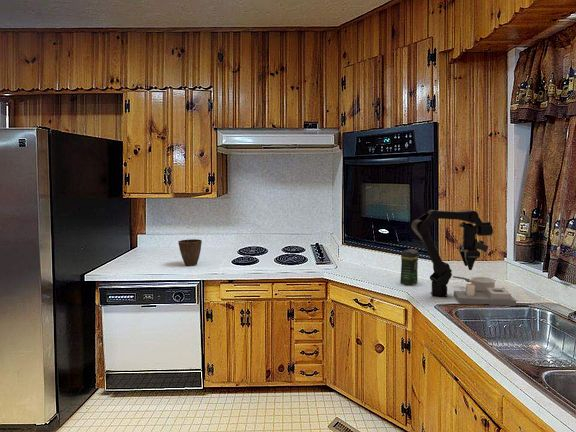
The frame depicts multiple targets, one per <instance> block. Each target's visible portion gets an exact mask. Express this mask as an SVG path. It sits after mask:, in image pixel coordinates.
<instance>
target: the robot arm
mask: <svg viewBox="0 0 576 432" xmlns="http://www.w3.org/2000/svg"><path fill="white" fill-rule="evenodd" d="M437 219H441V220H444V219H445V220H458V221H462V222H461V223H459V224H458V227H460V228H463V229H462V237H461V240H462V244H459V245H458V246H457V248H458V249H457V250H458V252H459V255H460V256H461V257H460V258H461V260H462V262H463V264H464V267H468V270H469V271H472V270H473V267H474V264H475V262H476V260H478V259H479V258H481V252H480V251H483V252H484V253H487V252H488V249H489V248H490V247H489V245H487V244H486V243H485V241H483V240H481V239H480V240H479V241H478V239H477V236H478V237H491V236H492V235H493V233H494V229H493V225H492V224H491V223H492V222H491V221H482V219H481V218H480V216H479V213H478V211H476V210H471V209H464V210H463V209H461V210H458V211H453V210H452V211H451V210H435V209H429V210H428V211H426V213H424V214H422V215H421V216H420V217H418V218H417V219H414V220H413V221H412V222H411V225H410V226H411V227H410V228H411V229H412V230H413V232H414V233H415V235H417V237H418V238H419V239H420V240H421V242H422V244H423V247H424V248H425V250H426V252H427V254H428V256H429V259H430V261H431V262H432V269H433V273H432V274H430V276H429V280H430V281H431V288H430V289H431V291H430V294H431V297H436V298H437V297H438V298H439V297H441V298H447V295H448V286H447V285H448V283H449V281H450V280H451V278H452V277H453V273H452V272H453V270H452V269H451V267H450V264H449V263H448V262H446V261H443V260H442V258H441V256H440V254H439V252H438V250H437V248H436V246H435V243H434V242H433V240H432V236H431V235H430V234H431V232H430V227H431V226H432V224H433V223H434V222H435V220H437ZM467 222H468V223H467Z"/></svg>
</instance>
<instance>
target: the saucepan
mask: <svg viewBox="0 0 576 432" xmlns="http://www.w3.org/2000/svg"><path fill="white" fill-rule="evenodd" d="M452 278H453V279H460V280H463V281H466V282H467V283H470V284H473V285H474V286H475V290H474V292H486V288H496V287H495V286H496V285H495V284H496V279H494V278H492V277H486V276H473V277H470V278H467V277H464V276H463V277H462V276H456V275H452Z"/></svg>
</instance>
